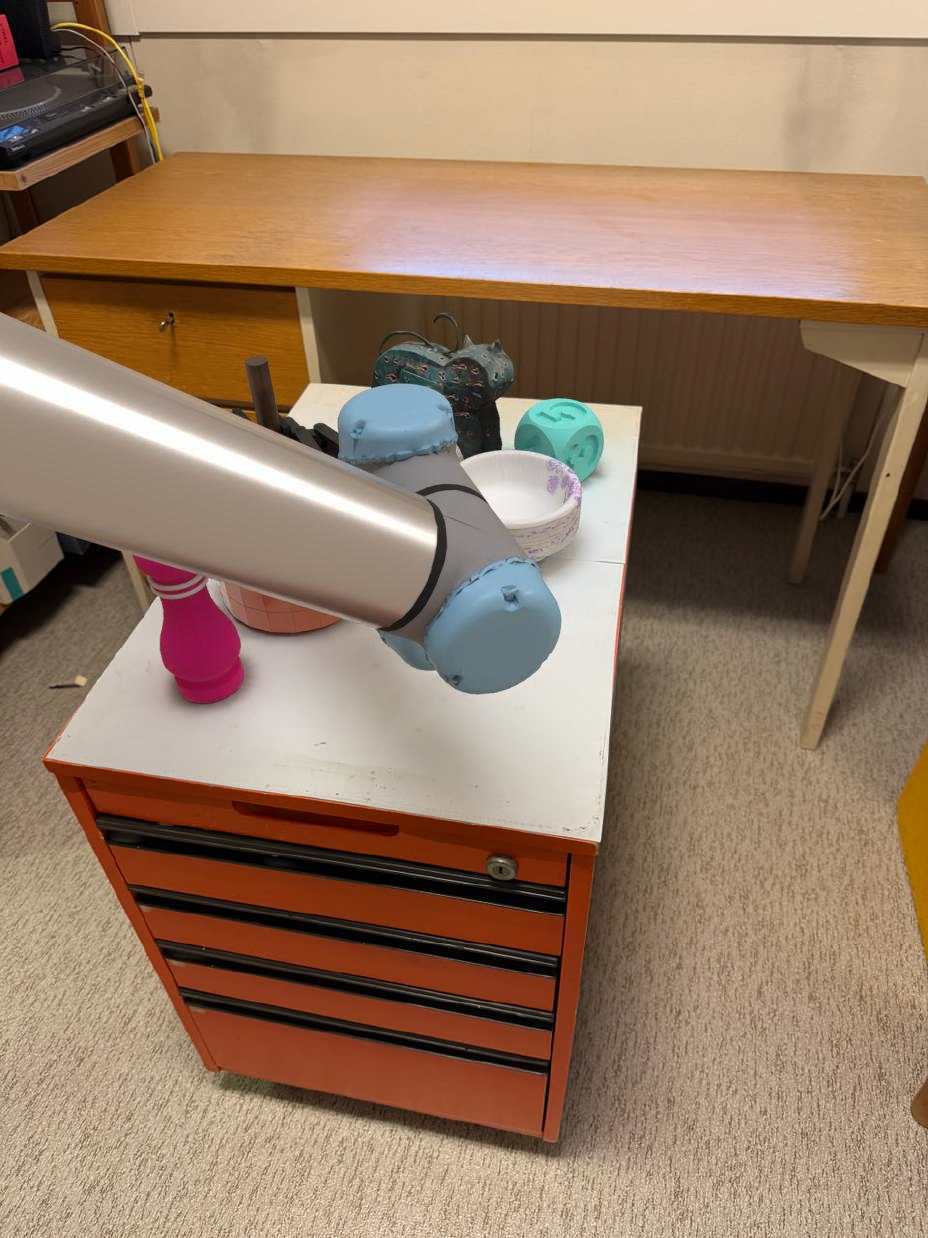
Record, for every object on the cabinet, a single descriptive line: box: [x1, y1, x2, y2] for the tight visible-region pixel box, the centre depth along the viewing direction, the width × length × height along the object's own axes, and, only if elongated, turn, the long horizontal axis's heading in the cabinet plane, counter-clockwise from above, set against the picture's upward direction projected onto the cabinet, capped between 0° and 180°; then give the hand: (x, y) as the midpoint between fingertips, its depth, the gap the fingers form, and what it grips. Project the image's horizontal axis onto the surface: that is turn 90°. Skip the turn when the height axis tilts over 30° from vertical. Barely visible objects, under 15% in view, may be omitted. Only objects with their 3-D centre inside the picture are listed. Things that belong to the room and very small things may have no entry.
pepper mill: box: [132, 555, 245, 704], centre depth 78 cm, size 7×7×20 cm
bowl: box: [218, 581, 343, 633], centre depth 93 cm, size 16×16×6 cm
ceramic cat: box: [370, 312, 515, 461], centre depth 107 cm, size 20×6×20 cm, turn 54°
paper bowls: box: [459, 449, 583, 564], centre depth 97 cm, size 15×15×8 cm
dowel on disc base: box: [244, 355, 282, 435], centre depth 84 cm, size 6×6×18 cm
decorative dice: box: [513, 398, 605, 482], centre depth 109 cm, size 8×8×8 cm
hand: (251, 417), depth 87 cm, fingers closed on dowel on disc base, 2 cm apart
